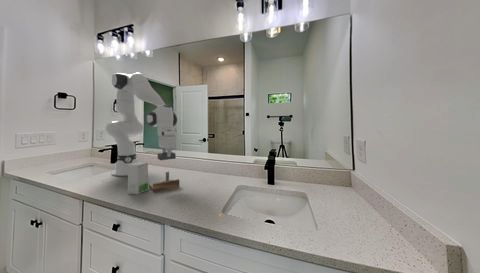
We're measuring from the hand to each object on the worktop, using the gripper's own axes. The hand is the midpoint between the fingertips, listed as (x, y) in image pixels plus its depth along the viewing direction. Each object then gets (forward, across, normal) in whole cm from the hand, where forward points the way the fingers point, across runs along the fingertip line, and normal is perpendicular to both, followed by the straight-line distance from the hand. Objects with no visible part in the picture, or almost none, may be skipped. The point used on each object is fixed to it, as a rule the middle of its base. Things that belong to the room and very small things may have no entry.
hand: (166, 155), depth 105 cm
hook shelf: (+18, 0, -2) cm, 18 cm away
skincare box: (+18, -1, -15) cm, 24 cm away
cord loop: (+2, 0, 0) cm, 2 cm away
